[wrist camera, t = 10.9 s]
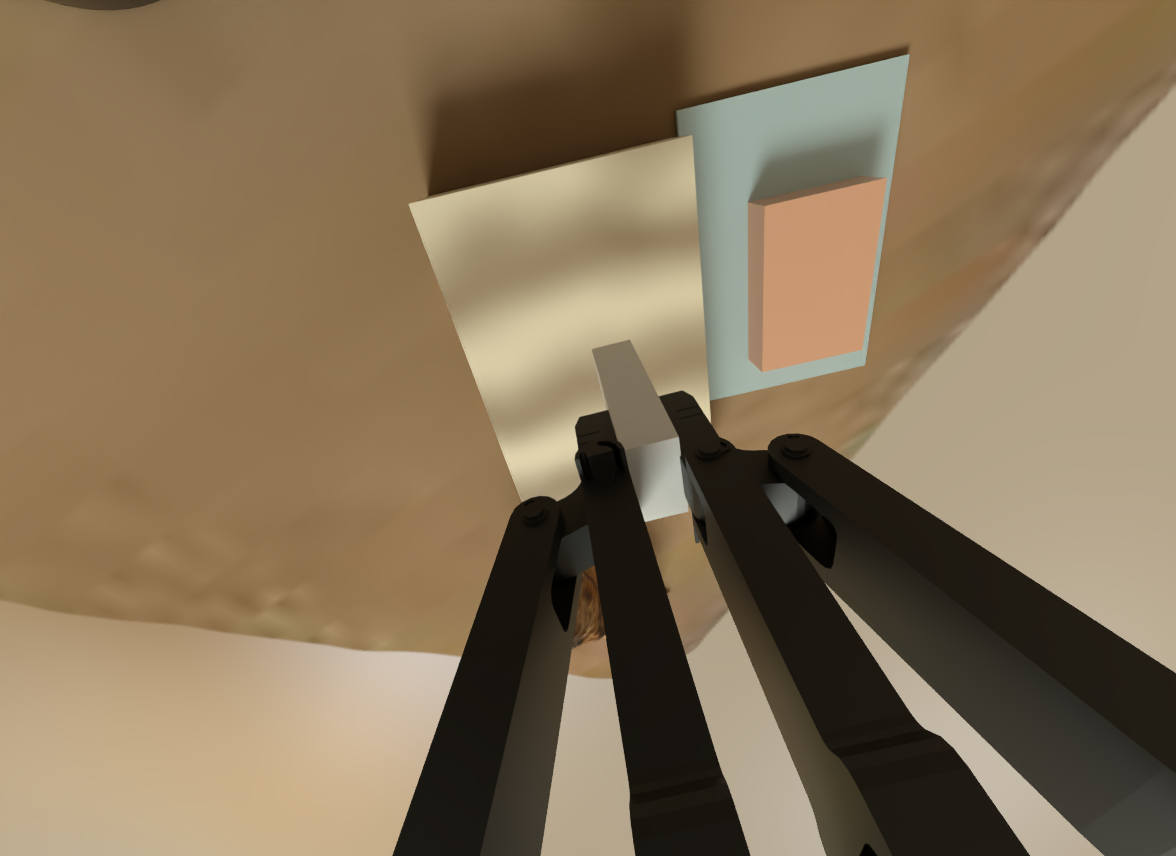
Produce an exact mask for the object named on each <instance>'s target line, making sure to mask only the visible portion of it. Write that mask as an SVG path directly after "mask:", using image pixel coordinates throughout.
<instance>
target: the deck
mask: <svg viewBox="0 0 1176 856" xmlns="http://www.w3.org/2000/svg"><path fill="white" fill-rule="evenodd" d="M409 207H410V209H411V212H412V215H413V217H414V220H415V222H416V225H417V228H418V230H419V233H420V236H421V238H422V241H423V244H424V246H425V249H426V251H427V254H428V257H429V259H430V262H431V265H432V267H433V270H434V273H435V275H436V278H437V280H438V283H439V286H440V288H441V291H442V294H443V296H444V299H445V302H446V304H447V307H448V309H449V312H450V315H451V317H452V320H453V323H454V325H455V328H456V331H457V333H458V336H459V338H460V341H461V344H462V346H463V349H464V352H465V354H466V357H467V360H468V362H469V365H470V367H471V370H472V373H473V375H474V378H475V381H476V383H477V386H478V388H479V391H480V394H481V396H482V399H483V402H484V404H485V407H486V410H487V412H488V415H489V417H490V420H491V423H492V425H493V428H494V431H495V433H496V436H497V439H498V441H499V444H500V446H501V449H502V452H503V454H504V457H505V460H506V462H507V465H508V468H509V470H510V473H511V475H512V478H513V481H514V483H515V486H516V489H517V491H518V494H519V497H520V499H521V502H523V501H525V500H527V499H529V498H532V497H537V496H549V497H551V498H553V499H555V500H556V501H559V500H561V499H563V498H565V497H566V496H568V495H569V494H571V493H572V492H573V491H574V490H576V489H577V487H578V486H579V485H580V483H581V480H580V477H579V473H578V470H577V467H576V463H575V460H574V459H575V453H576V452H577V451H578V444H577V438H576V432H575V425H576V423H577V421H578V419H579V417H581V416H585V415H589V414H593V413H597V412H601V411H605V410H606V409H605V405H604V401H603V397H602V392H601V388H600V384H599V379H598V375H597V371H596V366H595V362H594V358H593V354H592V349H594V348H598V347H602V346H606V345H610V344H614V343H618V342H622V341H626V340H630V341H631V343H632V345H633V347H634V349H635V351H636V353H637V355H638V357H639V359H640V361H641V363H642V365H643V367H644V369H645V371H646V373H647V375H648V377H649V379H650V381H651V383H652V384H653V386H654V388H655V390H656V392H657V394H658V396H661V395H665V394H669V393H673V392H678V391H682V390H683V391H685V392H686V393H688V394H690V395H692V396H694V398H695V400H696V401H697V403H698V404H699V407H701V409H702V411H703V413H704V414H705V415H706V417H707V418H708V420H709V422H710V423H711V415H710V400H709V385H708V369H707V354H706V339H705V323H704V308H703V292H702V277H701V262H700V246H699V231H698V215H697V200H696V185H695V169H694V154H693V138H692V135H689V136H681V137H674V138H667V139H663V140H658V141H654V142H650V143H646V144H642V145H638V146H634V147H630V148H625V149H621V150H617V151H613V152H609V153H605V154H601V155H597V156H592V157H588V158H584V159H580V160H576V161H572V162H568V163H564V164H559V165H555V166H551V167H547V168H543V169H539V170H535V171H531V172H526V173H522V174H518V175H514V176H510V177H506V178H502V179H498V180H493V181H489V182H485V183H481V184H477V185H473V186H469V187H465V188H460V189H456V190H452V191H448V192H444V193H440V194H436V195H432V196H428V197H425V198H422V199H420V200H417V201H415V202H412V203H409ZM687 504H688V502H687Z"/></svg>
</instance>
